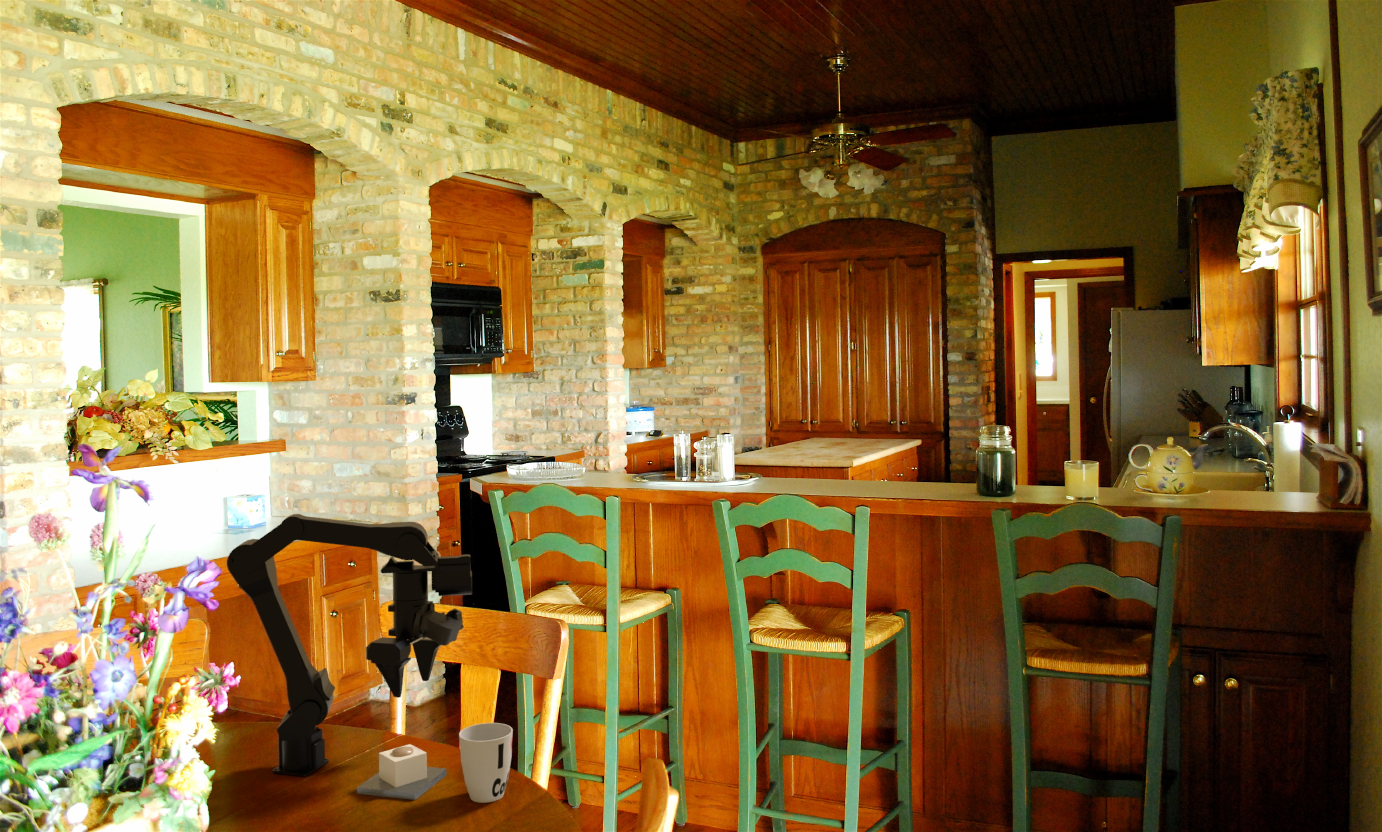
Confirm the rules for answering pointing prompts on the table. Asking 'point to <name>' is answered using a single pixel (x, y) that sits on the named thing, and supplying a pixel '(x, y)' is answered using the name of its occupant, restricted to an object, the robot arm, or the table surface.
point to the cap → (402, 765)
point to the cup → (486, 760)
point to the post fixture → (406, 791)
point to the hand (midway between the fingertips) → (411, 688)
